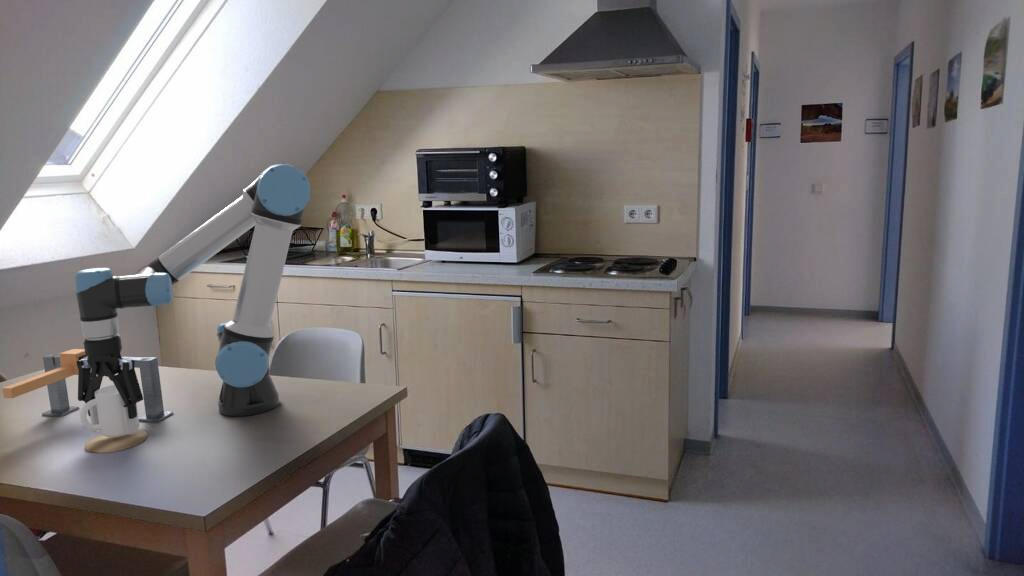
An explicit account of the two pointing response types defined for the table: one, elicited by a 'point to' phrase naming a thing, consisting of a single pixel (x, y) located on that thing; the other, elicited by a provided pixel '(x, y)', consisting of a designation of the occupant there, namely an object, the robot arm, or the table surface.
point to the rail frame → (146, 365)
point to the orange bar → (47, 375)
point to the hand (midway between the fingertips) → (114, 430)
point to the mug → (107, 412)
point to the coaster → (115, 442)
